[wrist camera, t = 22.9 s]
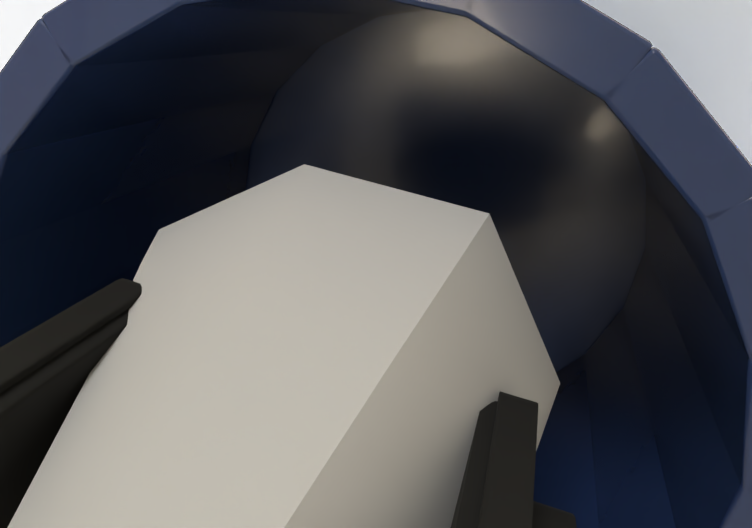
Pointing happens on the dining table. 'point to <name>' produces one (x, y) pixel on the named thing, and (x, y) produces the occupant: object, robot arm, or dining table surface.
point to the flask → (298, 367)
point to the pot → (430, 179)
